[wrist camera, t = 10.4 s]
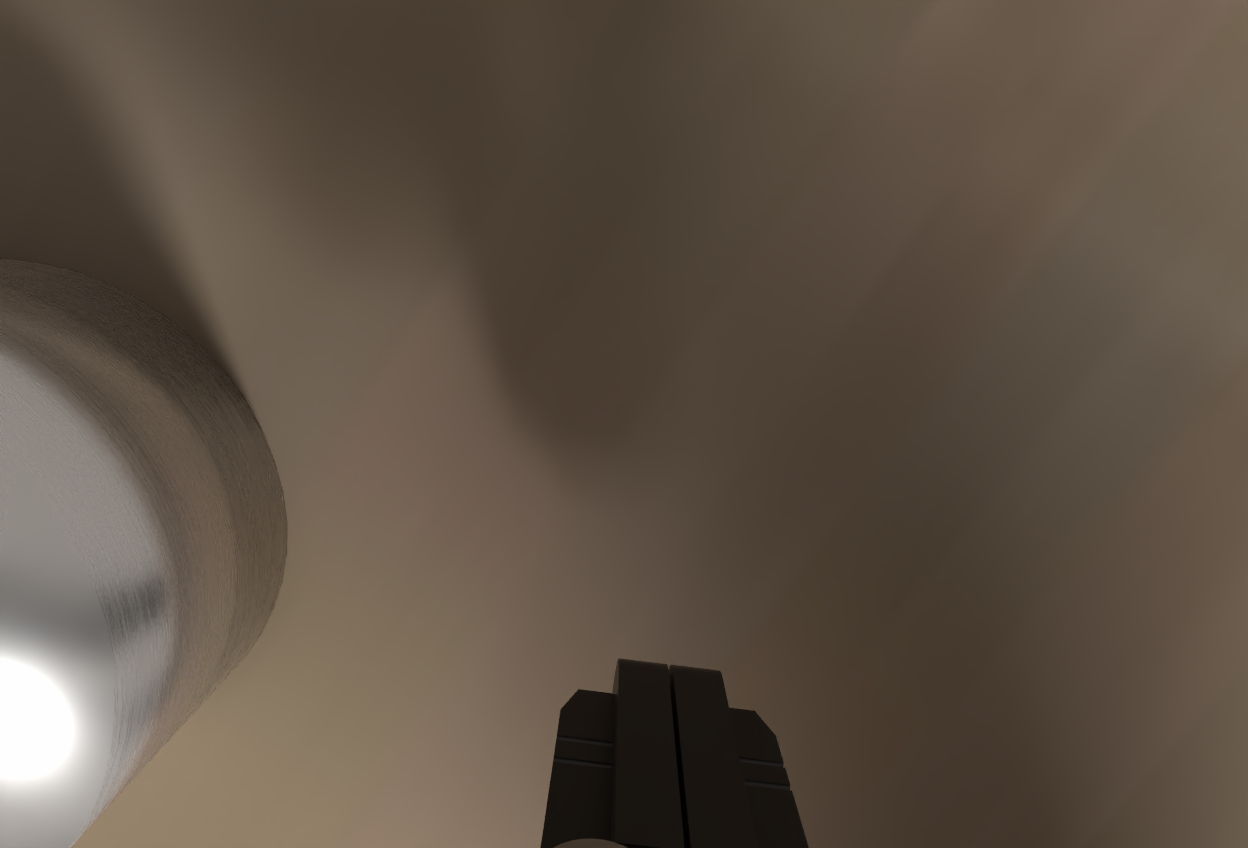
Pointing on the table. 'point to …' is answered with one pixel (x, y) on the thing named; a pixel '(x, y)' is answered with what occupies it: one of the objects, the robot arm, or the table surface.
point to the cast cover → (116, 543)
